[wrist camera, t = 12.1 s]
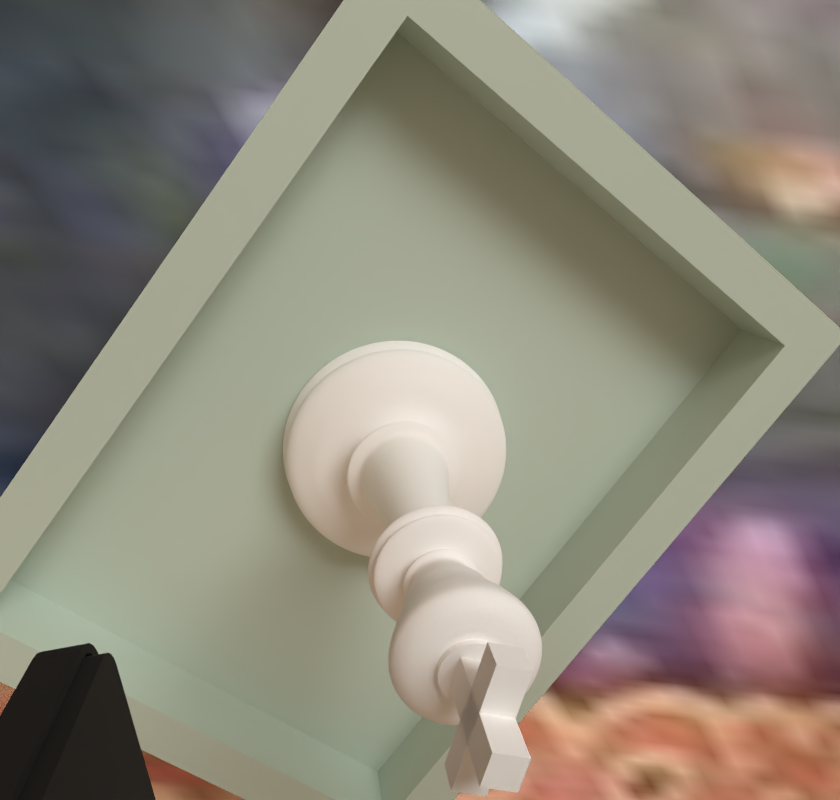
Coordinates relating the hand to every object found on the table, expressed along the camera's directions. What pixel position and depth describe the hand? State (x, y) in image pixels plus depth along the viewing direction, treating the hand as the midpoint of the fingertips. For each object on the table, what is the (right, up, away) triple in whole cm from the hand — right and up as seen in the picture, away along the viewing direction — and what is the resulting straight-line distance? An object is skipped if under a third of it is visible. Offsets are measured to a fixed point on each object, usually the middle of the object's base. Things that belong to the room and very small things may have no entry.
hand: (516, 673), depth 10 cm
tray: (-2, +2, +9) cm, 9 cm away
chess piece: (-2, +2, +8) cm, 9 cm away
